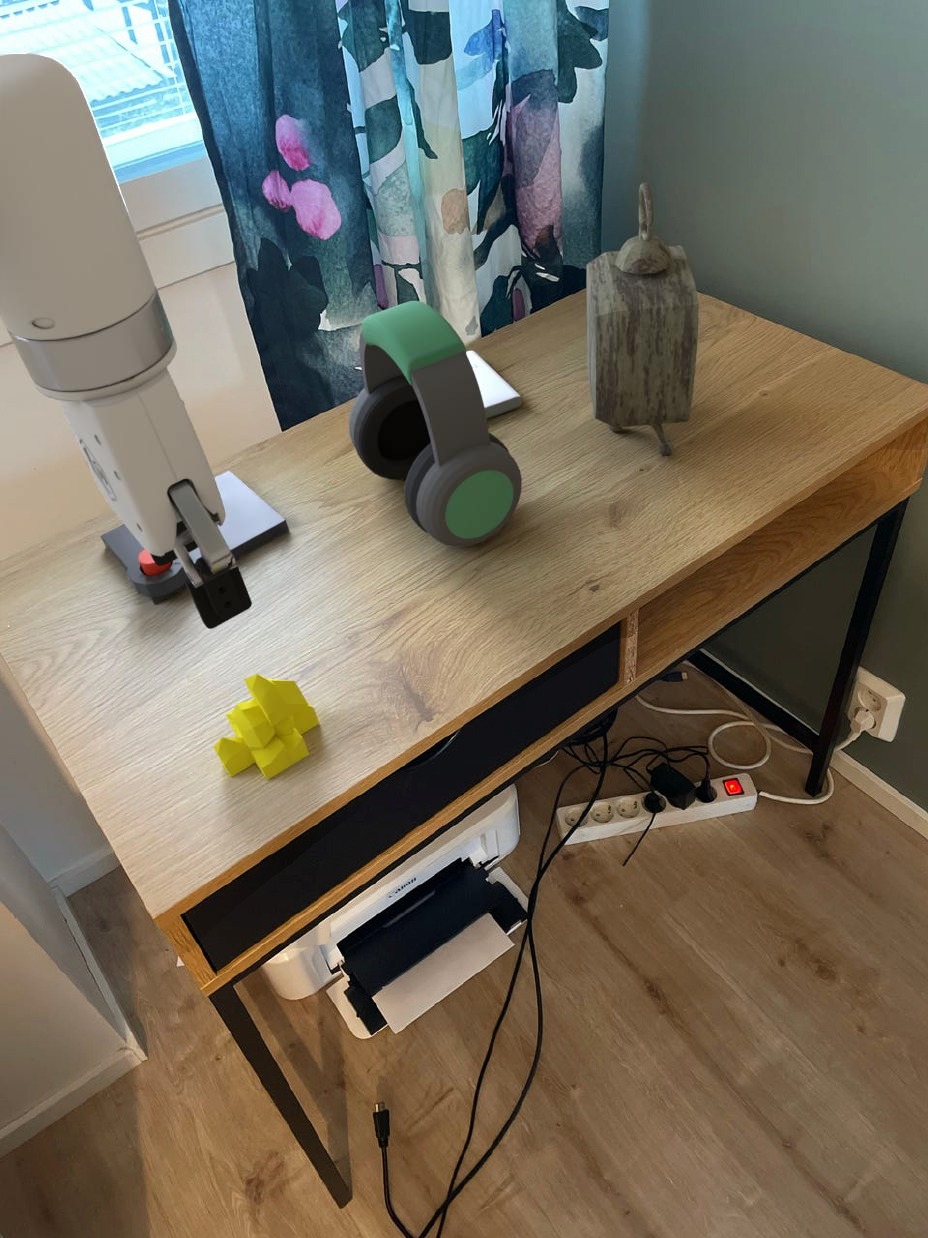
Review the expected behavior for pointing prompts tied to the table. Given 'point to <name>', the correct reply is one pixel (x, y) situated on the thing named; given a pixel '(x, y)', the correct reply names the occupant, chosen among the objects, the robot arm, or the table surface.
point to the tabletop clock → (642, 331)
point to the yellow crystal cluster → (267, 728)
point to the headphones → (431, 426)
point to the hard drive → (493, 388)
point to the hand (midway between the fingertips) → (202, 583)
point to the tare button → (151, 564)
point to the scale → (241, 530)
